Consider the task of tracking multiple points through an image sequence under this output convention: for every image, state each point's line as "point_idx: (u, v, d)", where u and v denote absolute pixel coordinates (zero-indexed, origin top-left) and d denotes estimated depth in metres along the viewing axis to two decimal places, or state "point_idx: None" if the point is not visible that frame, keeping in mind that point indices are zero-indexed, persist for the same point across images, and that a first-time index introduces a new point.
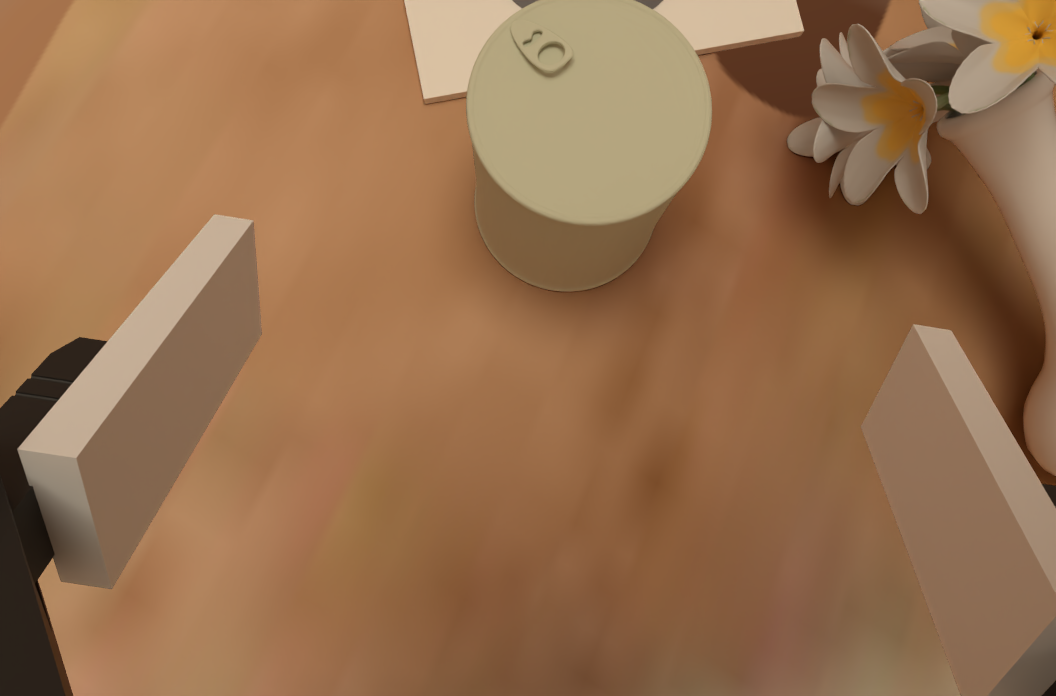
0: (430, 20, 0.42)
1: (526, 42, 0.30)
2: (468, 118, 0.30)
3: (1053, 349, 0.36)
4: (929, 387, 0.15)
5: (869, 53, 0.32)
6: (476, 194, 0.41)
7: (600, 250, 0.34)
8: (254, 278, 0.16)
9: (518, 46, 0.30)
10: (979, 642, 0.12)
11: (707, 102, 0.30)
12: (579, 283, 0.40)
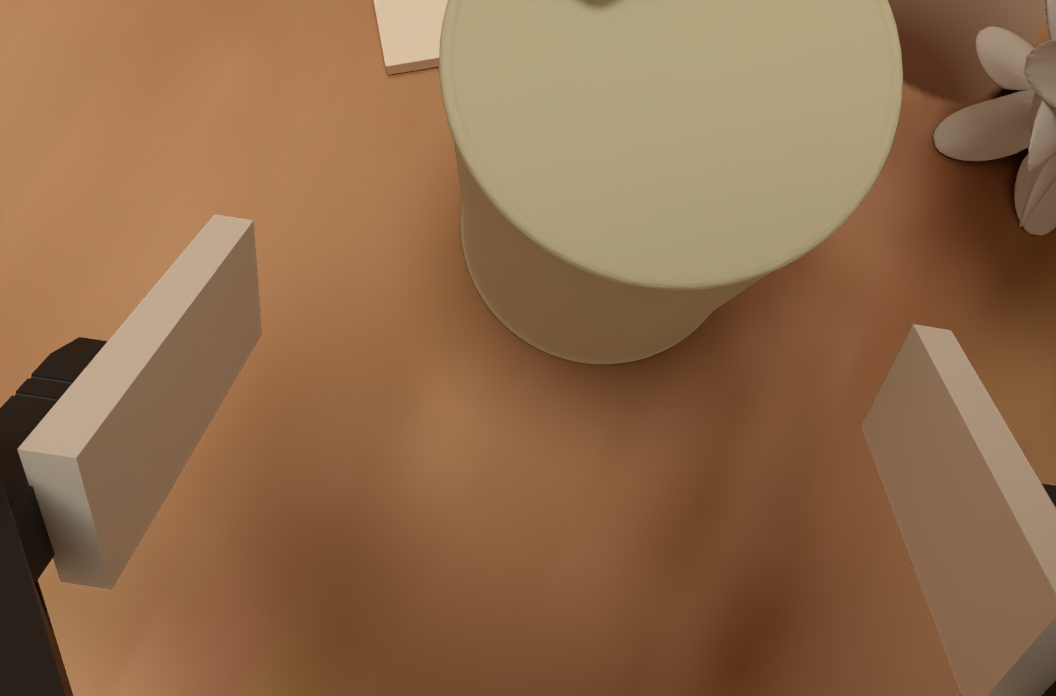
0: None
1: None
2: (443, 81, 0.16)
3: None
4: (929, 387, 0.15)
5: None
6: None
7: (673, 319, 0.20)
8: (254, 278, 0.16)
9: None
10: (979, 642, 0.12)
11: (894, 58, 0.16)
12: (622, 354, 0.25)
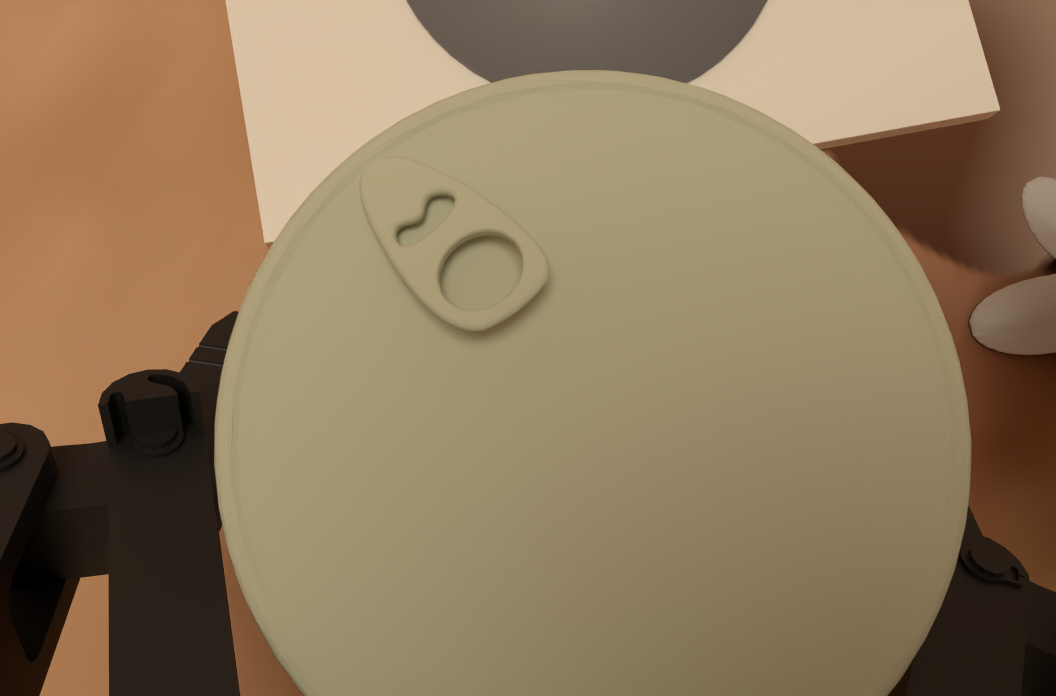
0: (283, 87, 0.22)
1: (409, 226, 0.10)
2: (217, 475, 0.10)
3: None
4: None
5: None
6: None
7: None
8: None
9: (381, 242, 0.10)
10: None
11: (957, 418, 0.10)
12: None
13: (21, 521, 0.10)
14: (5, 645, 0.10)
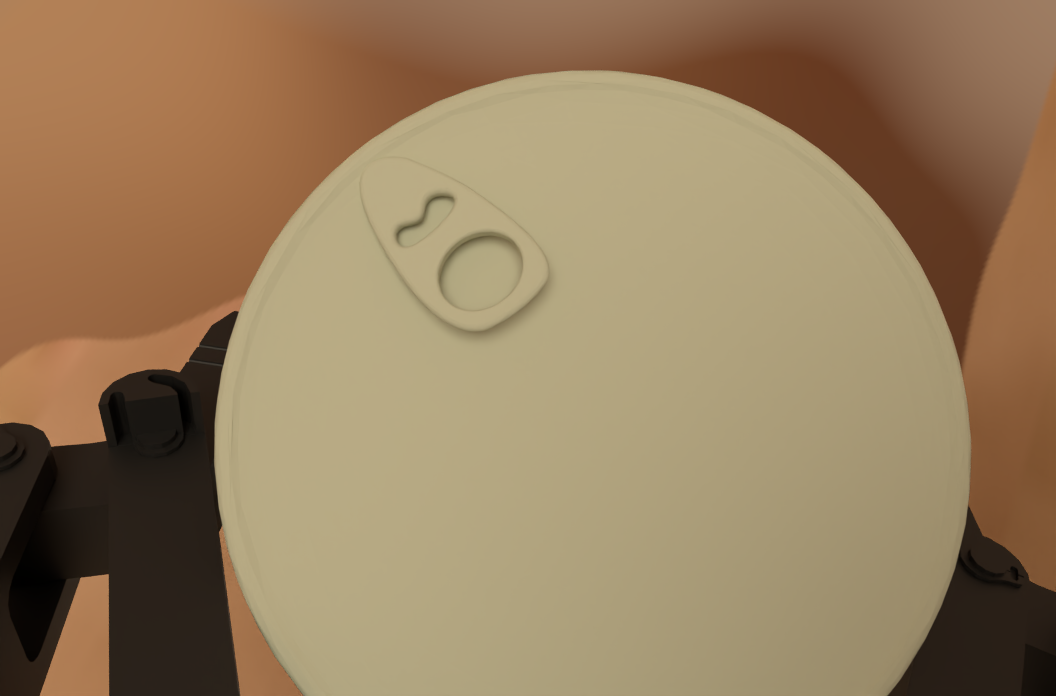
0: None
1: (409, 227, 0.10)
2: (217, 475, 0.10)
3: None
4: None
5: None
6: None
7: None
8: None
9: (381, 241, 0.10)
10: None
11: (957, 418, 0.10)
12: None
13: (21, 521, 0.10)
14: (5, 645, 0.10)
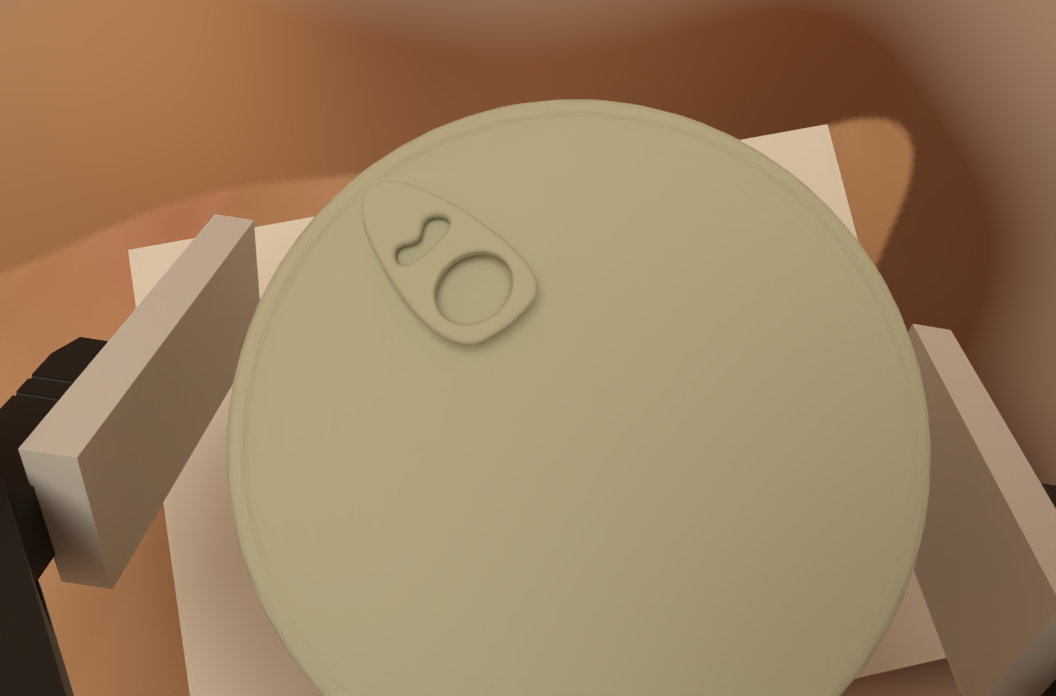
0: (228, 648, 0.21)
1: (408, 247, 0.11)
2: (230, 477, 0.10)
3: None
4: (928, 387, 0.15)
5: None
6: None
7: None
8: (255, 278, 0.16)
9: (382, 260, 0.11)
10: (978, 642, 0.12)
11: (918, 424, 0.11)
12: None
13: None
14: None
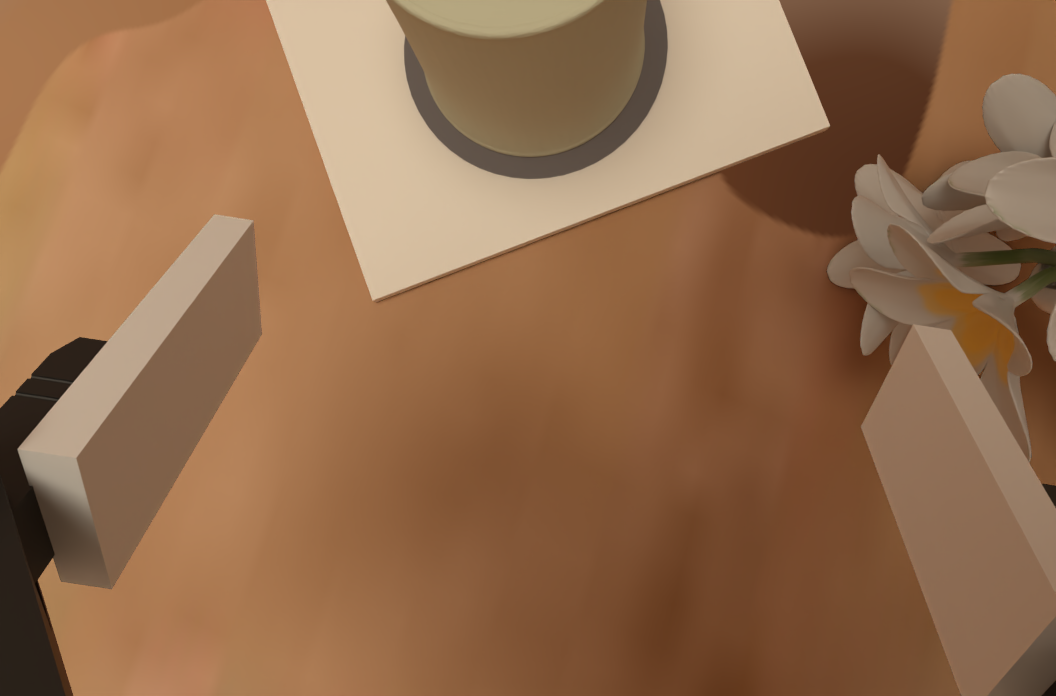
0: (365, 200, 0.35)
1: None
2: None
3: None
4: (929, 387, 0.15)
5: (921, 249, 0.23)
6: None
7: (562, 81, 0.27)
8: (254, 278, 0.16)
9: None
10: (979, 642, 0.12)
11: None
12: (560, 140, 0.32)
13: None
14: None
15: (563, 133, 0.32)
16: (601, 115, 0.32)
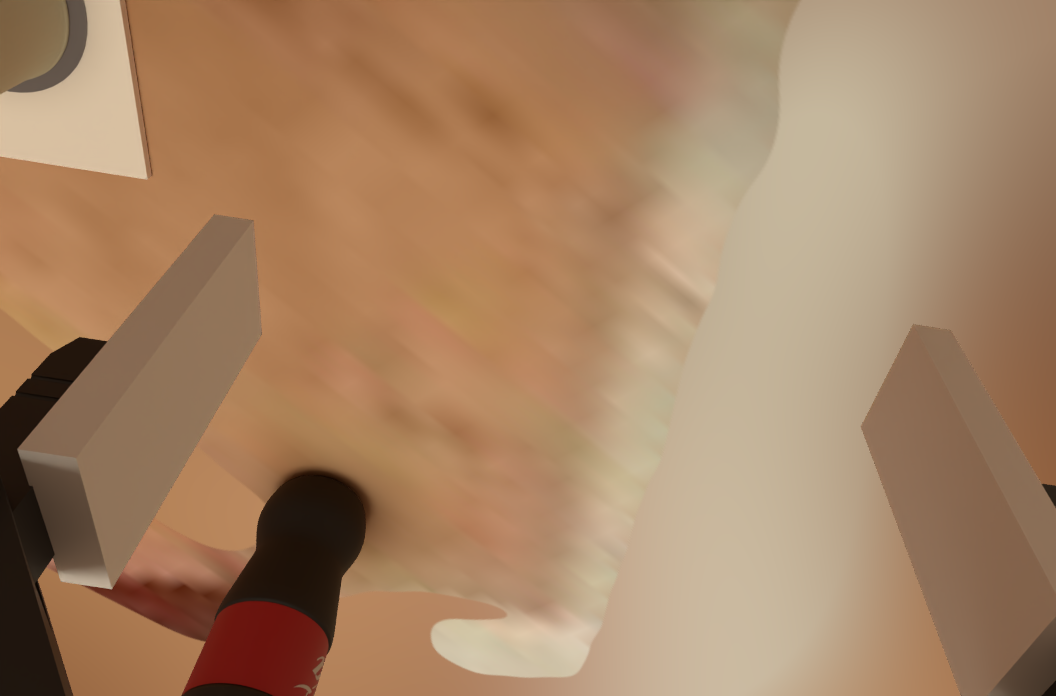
0: (79, 152, 0.51)
1: None
2: None
3: None
4: (929, 387, 0.15)
5: None
6: None
7: None
8: (254, 278, 0.16)
9: None
10: (979, 642, 0.12)
11: None
12: (54, 21, 0.45)
13: None
14: None
15: (47, 22, 0.44)
16: None
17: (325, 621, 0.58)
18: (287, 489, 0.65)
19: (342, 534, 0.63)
